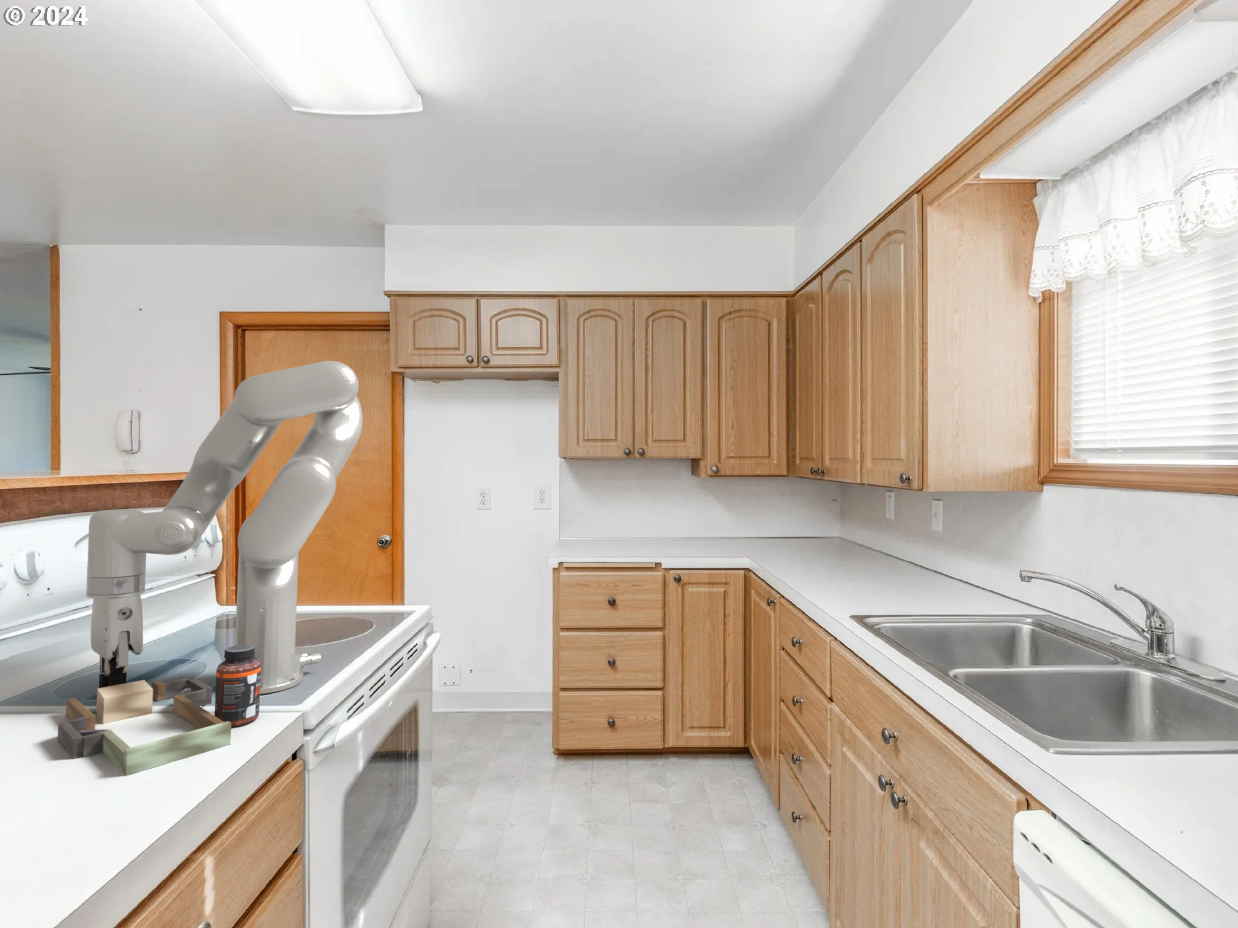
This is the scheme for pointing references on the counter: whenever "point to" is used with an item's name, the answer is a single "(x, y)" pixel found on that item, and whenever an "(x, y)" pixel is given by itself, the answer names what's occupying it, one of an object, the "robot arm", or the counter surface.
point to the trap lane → (187, 701)
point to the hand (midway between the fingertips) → (112, 697)
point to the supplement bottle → (238, 686)
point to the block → (124, 701)
